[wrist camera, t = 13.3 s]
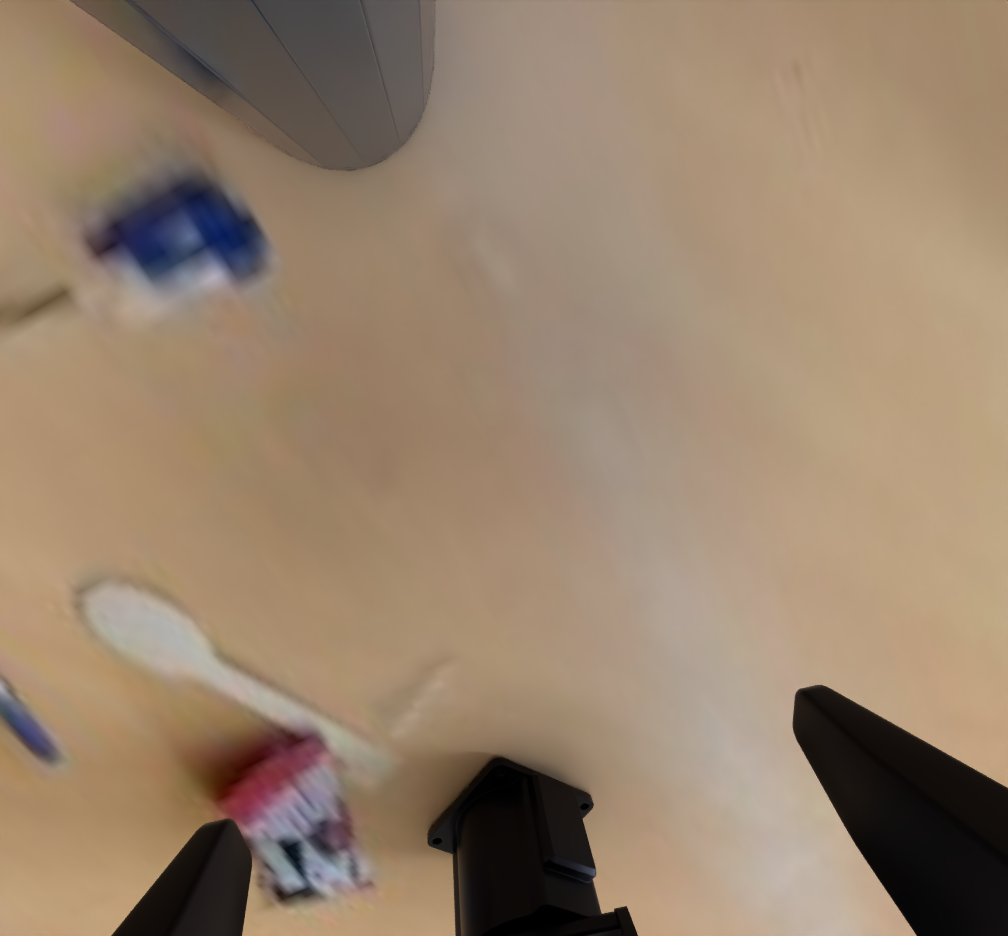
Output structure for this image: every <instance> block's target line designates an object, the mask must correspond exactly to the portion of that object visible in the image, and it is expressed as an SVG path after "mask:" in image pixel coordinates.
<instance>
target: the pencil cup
mask: <svg viewBox="0 0 1008 936" xmlns="http://www.w3.org/2000/svg"><path fill="white" fill-rule="evenodd" d="M69 1H71V2H72V3H73V4H75V5H76V6H78V7H79V8H81V9H82V10H83V11H85V12H86V13H88V14H89V15H90V16H92V17H93V18H95V19H96V20H97V21H99V22H100V23H102V24H103V25H105V26H106V27H107V28H109V29H110V30H112V31H113V32H114V33H116V34H117V35H119V36H120V37H122V38H123V39H124V40H126V41H127V42H129V43H130V44H131V45H133V46H134V47H136V48H137V49H138V50H140V51H141V52H143V53H144V54H146V55H147V56H148V57H150V58H151V59H153V60H154V61H155V62H157V63H158V64H160V65H161V66H162V67H164V68H165V69H167V70H168V71H170V72H171V73H172V74H174V75H175V76H177V77H178V78H179V79H181V80H182V81H184V82H185V83H187V84H188V85H189V86H191V87H192V88H194V89H195V90H196V91H198V92H199V93H201V94H202V95H203V96H205V97H206V98H208V99H209V100H211V101H212V102H213V103H215V104H216V105H218V106H219V107H220V108H222V109H223V110H225V111H226V112H228V113H229V114H230V115H232V116H233V117H235V118H236V119H237V120H239V121H240V122H242V123H243V124H244V125H246V126H247V127H249V128H250V129H252V130H253V131H254V132H256V133H257V134H259V135H260V136H261V137H263V138H264V139H266V140H267V141H269V142H270V143H271V144H273V145H274V146H276V147H277V148H278V149H280V150H281V151H283V152H284V153H286V154H287V155H289V156H292V157H295V158H297V159H298V160H301V161H303V162H305V163H308V164H310V165H313V166H317V167H320V168H324V169H330V170H356V169H362V168H365V167H369V166H372V165H375V164H377V163H379V162H381V161H383V160H385V159H386V158H388V157H389V156H391V155H392V154H394V153H395V152H396V151H397V150H398V149H399V148H400V147H402V146H403V145H404V144H405V143H406V141H407V140H408V139H409V138H410V136H411V135H412V134H413V132H414V131H415V129H416V127H417V126H418V124H419V122H420V120H421V118H422V115H423V113H424V111H425V108H426V105H427V101H428V98H429V94H430V88H431V82H432V75H433V70H434V50H435V1H436V0H69Z"/></svg>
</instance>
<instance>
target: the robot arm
mask: <svg viewBox="0 0 1008 936" xmlns="http://www.w3.org/2000/svg"><path fill="white" fill-rule="evenodd" d="M793 731H794V734H795V737H796V740H797V741H798V743H799V745H800V747H801V749H802V751H803V752H804V754H805V756H806V758H807V760H808V761H809V763H810V765H811V767H812V769H813V770H814V772H815V774H816V776H817V778H818V779H819V781H820V783H821V785H822V787H823V788H824V790H825V792H826V794H827V795H828V797H829V799H830V801H831V803H832V804H833V806H834V808H835V810H836V812H837V813H838V815H839V817H840V819H841V821H842V822H843V824H844V826H845V828H846V829H847V831H848V833H849V834H850V836H851V838H852V840H853V841H854V843H855V844H856V846H857V847H858V849H859V850H860V852H861V854H862V855H863V857H864V858H865V860H866V861H867V863H868V864H869V866H870V867H871V869H872V870H873V872H874V873H875V874H876V876H877V877H878V879H879V880H880V882H881V883H882V885H883V886H884V888H885V889H886V891H887V892H888V894H889V895H890V897H891V898H892V900H893V901H894V903H895V904H896V906H897V907H898V908H899V910H900V911H901V913H902V914H903V916H904V917H905V919H906V920H907V922H908V923H909V925H910V926H911V928H912V929H913V931H914V932H915V934H916V935H917V936H1008V788H1007V787H1005V786H1003V785H1002V784H1000V783H998V782H996V781H994V780H993V779H991V778H989V777H987V776H986V775H984V774H982V773H980V772H978V771H977V770H975V769H973V768H971V767H969V766H968V765H966V764H964V763H962V762H961V761H959V760H957V759H955V758H953V757H952V756H950V755H948V754H946V753H944V752H943V751H941V750H939V749H937V748H936V747H934V746H932V745H930V744H928V743H927V742H925V741H923V740H921V739H919V738H918V737H916V736H914V735H912V734H911V733H909V732H907V731H905V730H903V729H902V728H900V727H898V726H896V725H894V724H893V723H891V722H889V721H887V720H886V719H884V718H882V717H880V716H878V715H877V714H875V713H873V712H871V711H870V710H868V709H866V708H864V707H862V706H861V705H859V704H857V703H855V702H853V701H852V700H850V699H848V698H846V697H845V696H843V695H841V694H839V693H837V692H836V691H834V690H832V689H830V688H828V687H826V686H823V685H815V686H810V687H806V688H802V689H799V690H798V691H797V692H796V694H795V702H794V713H793ZM593 805H594V804H593V801H592V797H591V795H590V794H588V793H586V792H584V791H581V790H579V789H577V788H574V787H572V786H570V785H567V784H565V783H562V782H560V781H558V780H555V779H553V778H550V777H548V776H546V775H543V774H541V773H539V772H536V771H534V770H531V769H529V768H527V767H524V766H522V765H520V764H517V763H515V762H512V761H510V760H508V759H505V758H496V759H493V760H492V761H491V762H490V763H489V764H488V765H487V766H486V767H485V768H484V770H483V771H482V772H481V773H480V774H479V775H478V776H477V777H476V779H475V780H474V781H473V782H472V783H471V784H470V785H469V786H468V787H467V789H466V790H465V791H464V792H463V793H462V794H461V795H460V796H459V798H458V799H457V800H456V801H455V802H454V803H453V804H452V805H451V806H450V808H449V809H448V810H447V811H446V812H445V813H444V814H443V815H442V817H441V818H440V819H439V820H438V821H437V822H436V823H435V824H434V825H433V827H432V828H431V829H430V830H429V831H428V845H429V846H431V847H433V848H436V849H439V850H442V851H445V852H448V853H451V854H453V878H454V905H455V932H456V936H638V935H637V932H636V929H635V927H634V924H633V921H632V919H631V916H630V913H629V911H628V908H627V906H625V907H620V908H615V909H614V912H609V913H604V914H602V913H601V909H600V906H599V902H598V898H597V894H596V890H595V886H594V883H593V878H594V877H595V876H596V868H595V864H594V860H593V856H592V853H591V849H590V845H589V841H588V838H587V834H586V830H585V827H584V823H583V818H584V817H585V816H586V815H587V814H588V813H589V812H590V811H591V810H592V808H593ZM251 870H252V856H251V851H250V849H249V847H248V845H247V843H246V841H245V839H244V837H243V836H242V834H241V832H240V830H239V828H238V826H237V825H236V823H235V821H234V820H232V819H230V818H228V819H223V820H218V821H214V822H209V823H206V824H204V825H203V826H201V827H200V828H199V829H198V830H197V831H196V832H195V833H194V835H193V836H192V837H191V838H190V840H189V841H188V842H187V843H186V845H185V846H184V847H183V848H182V849H181V851H180V852H179V853H178V854H177V856H176V857H175V858H174V859H173V861H172V862H171V863H170V864H169V865H168V867H167V868H166V869H165V870H164V872H163V873H162V874H161V875H160V877H159V878H158V879H157V880H156V881H155V883H154V884H153V885H152V886H151V888H150V889H149V890H148V891H147V893H146V894H145V895H144V896H143V897H142V899H141V900H140V901H139V902H138V904H137V905H136V906H135V907H134V908H133V910H132V911H131V912H130V913H129V915H128V916H127V917H126V918H125V920H124V921H123V922H122V923H121V924H120V926H119V927H118V928H117V929H116V931H115V932H114V933H113V934H112V936H242V932H243V925H244V918H245V911H246V904H247V897H248V890H249V884H250V877H251Z"/></svg>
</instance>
